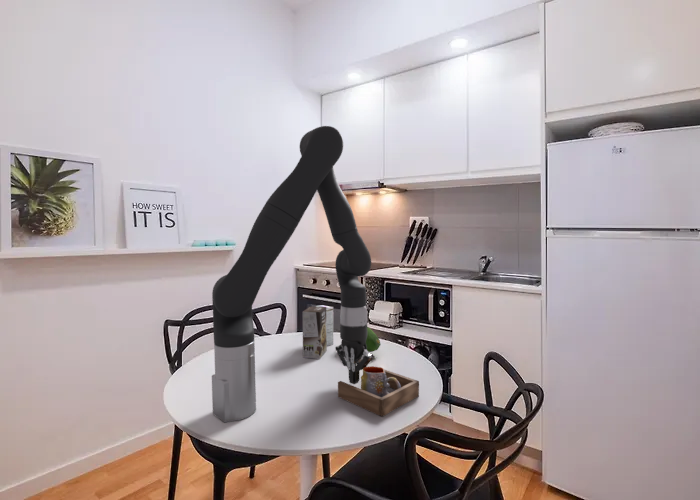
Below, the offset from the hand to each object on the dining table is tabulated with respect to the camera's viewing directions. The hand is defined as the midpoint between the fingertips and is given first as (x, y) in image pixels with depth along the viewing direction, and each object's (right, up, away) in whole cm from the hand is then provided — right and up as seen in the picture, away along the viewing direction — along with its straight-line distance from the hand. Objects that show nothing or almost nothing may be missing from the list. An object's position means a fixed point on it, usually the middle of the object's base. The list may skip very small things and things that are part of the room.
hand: (354, 382), depth 105 cm
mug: (+7, -2, -6) cm, 9 cm away
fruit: (+3, 0, +28) cm, 28 cm away
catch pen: (+7, -1, -7) cm, 9 cm away
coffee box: (-13, 0, +27) cm, 30 cm away
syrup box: (-11, +1, +38) cm, 39 cm away
